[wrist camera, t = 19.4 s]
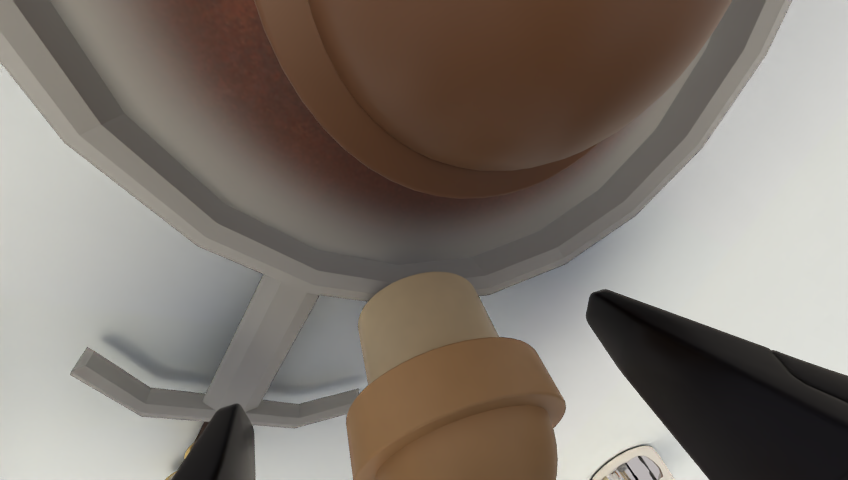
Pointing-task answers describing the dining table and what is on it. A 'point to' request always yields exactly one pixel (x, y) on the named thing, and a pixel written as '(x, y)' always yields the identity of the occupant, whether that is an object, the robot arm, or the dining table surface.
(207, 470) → the robot arm
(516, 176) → the brown mushroom
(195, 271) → the dining table surface
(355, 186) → the frying pan
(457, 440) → the tan mushroom
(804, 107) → the dining table surface
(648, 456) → the beer glass
